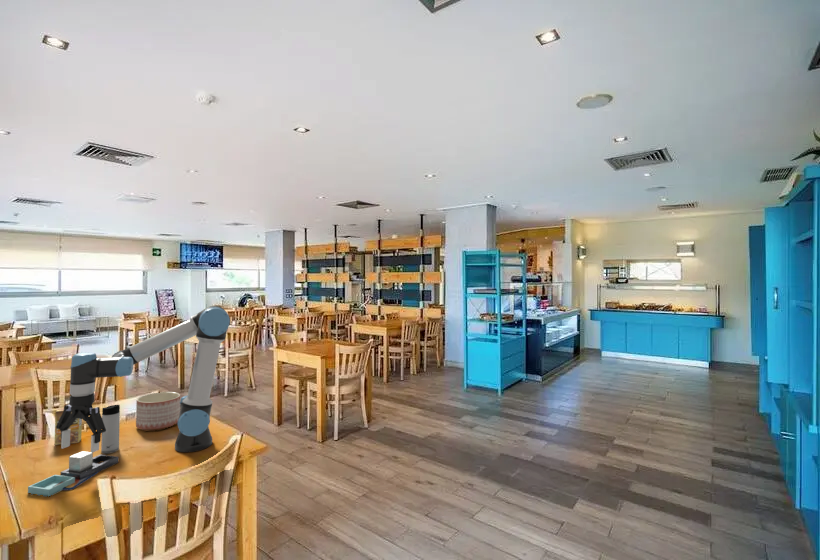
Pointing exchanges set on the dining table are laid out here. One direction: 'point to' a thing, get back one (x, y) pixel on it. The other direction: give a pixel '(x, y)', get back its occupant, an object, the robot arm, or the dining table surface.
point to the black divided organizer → (93, 466)
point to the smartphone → (77, 482)
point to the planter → (157, 411)
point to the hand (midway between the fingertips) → (80, 449)
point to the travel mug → (110, 429)
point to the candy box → (74, 432)
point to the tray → (51, 485)
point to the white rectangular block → (80, 462)
